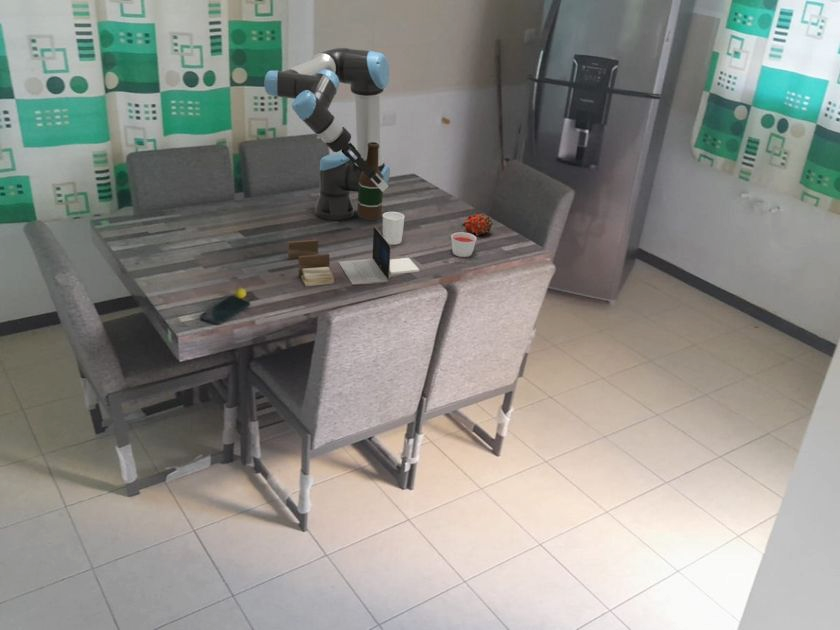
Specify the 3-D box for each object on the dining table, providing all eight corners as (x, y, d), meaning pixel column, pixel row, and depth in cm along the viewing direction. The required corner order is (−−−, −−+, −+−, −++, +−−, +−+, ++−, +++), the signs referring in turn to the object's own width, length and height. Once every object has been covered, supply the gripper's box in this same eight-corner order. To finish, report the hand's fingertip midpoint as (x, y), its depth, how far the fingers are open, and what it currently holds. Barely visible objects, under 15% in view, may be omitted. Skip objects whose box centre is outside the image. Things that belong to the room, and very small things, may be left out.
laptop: (338, 263, 269) (338, 227, 262) (373, 260, 273) (375, 225, 267) (352, 286, 254) (353, 249, 248) (389, 282, 258) (391, 246, 252)
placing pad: (381, 262, 271) (381, 260, 271) (408, 259, 274) (408, 257, 274) (391, 274, 263) (391, 272, 262) (419, 271, 266) (419, 269, 266)
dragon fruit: (493, 238, 301) (462, 242, 300) (489, 219, 305) (458, 223, 304) (495, 226, 294) (464, 230, 293) (491, 207, 297) (460, 211, 296)
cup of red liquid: (477, 258, 280) (479, 242, 277) (452, 258, 278) (454, 242, 275) (471, 248, 287) (473, 232, 284) (447, 248, 286) (449, 232, 283)
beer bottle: (370, 209, 260) (375, 138, 249) (385, 217, 255) (391, 144, 244) (352, 214, 255) (355, 141, 244) (367, 222, 251) (371, 148, 239)
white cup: (400, 246, 284) (401, 220, 280) (379, 243, 285) (380, 217, 281) (405, 238, 291) (406, 213, 286) (384, 235, 292) (385, 210, 288)
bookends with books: (288, 258, 269) (288, 239, 266) (316, 255, 272) (316, 236, 269) (304, 286, 251) (304, 266, 247) (335, 283, 254) (335, 263, 251)
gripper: (317, 134, 247) (364, 182, 260) (333, 153, 231) (382, 203, 244) (334, 117, 247) (380, 166, 260) (351, 135, 230) (400, 186, 243)
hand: (381, 184), depth 252 cm, fingers closed on beer bottle, 7 cm apart
